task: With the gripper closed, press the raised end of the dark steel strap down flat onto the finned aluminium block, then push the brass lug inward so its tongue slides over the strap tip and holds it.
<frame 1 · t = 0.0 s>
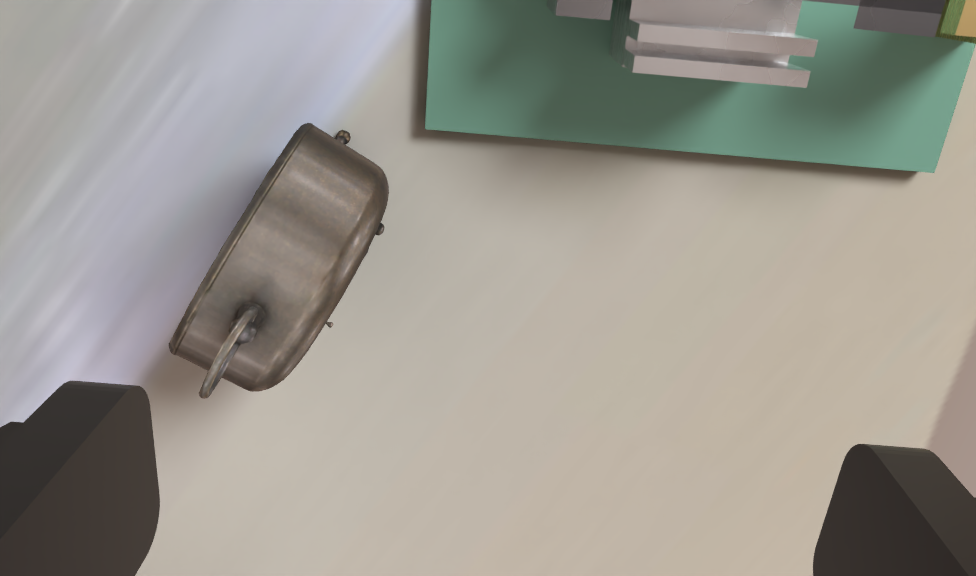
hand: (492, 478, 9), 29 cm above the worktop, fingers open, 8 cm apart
alarm clock: (322, 214, 39), on the worktop
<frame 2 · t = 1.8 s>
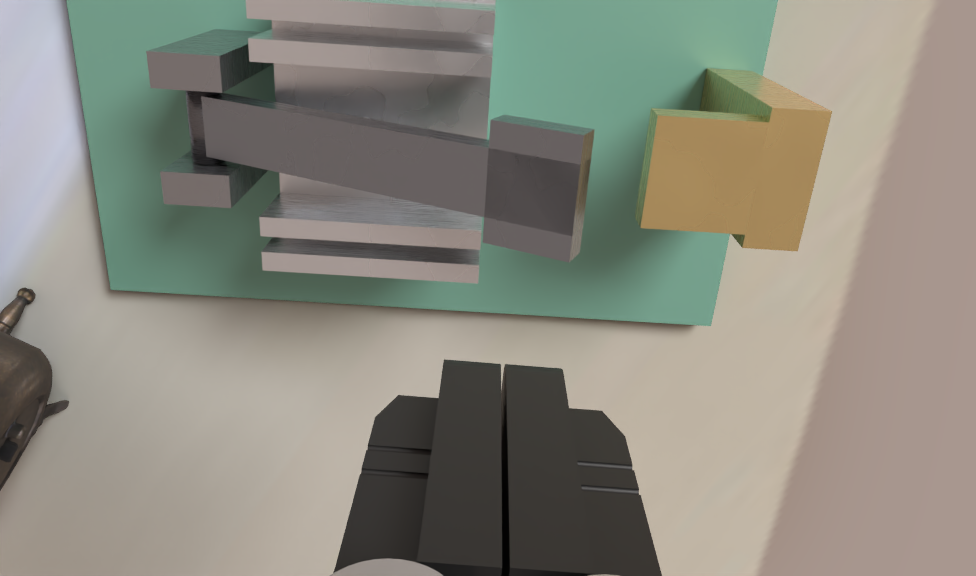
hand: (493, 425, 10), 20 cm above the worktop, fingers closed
heat sink: (338, 121, 24), on the pcb board, point 4 cm above the worktop
alarm clock: (24, 374, 34), on the worktop
pcb board: (420, 101, 28), on the worktop
strap: (366, 154, 21), point 8 cm above the worktop, hinge at 25.0°
lug: (700, 147, 24), point 5 cm above the worktop, slide at 0.0 cm
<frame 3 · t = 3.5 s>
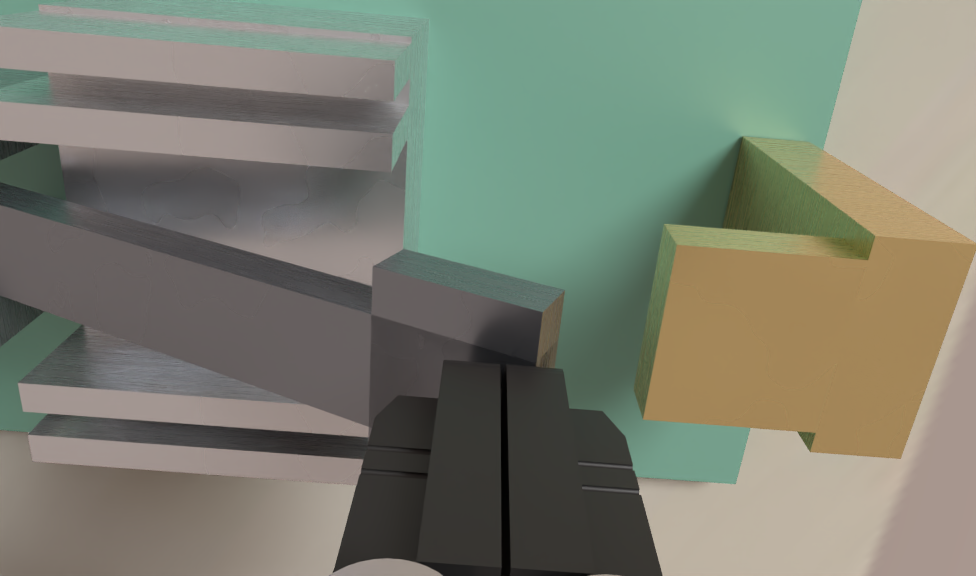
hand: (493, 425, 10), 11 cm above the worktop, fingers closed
heat sink: (175, 216, 16), on the pcb board, point 4 cm above the worktop
pcb board: (326, 171, 20), on the worktop
strap: (181, 295, 12), point 8 cm above the worktop, hinge at 24.4°, touching gripper
lug: (737, 267, 16), point 5 cm above the worktop, slide at 0.0 cm
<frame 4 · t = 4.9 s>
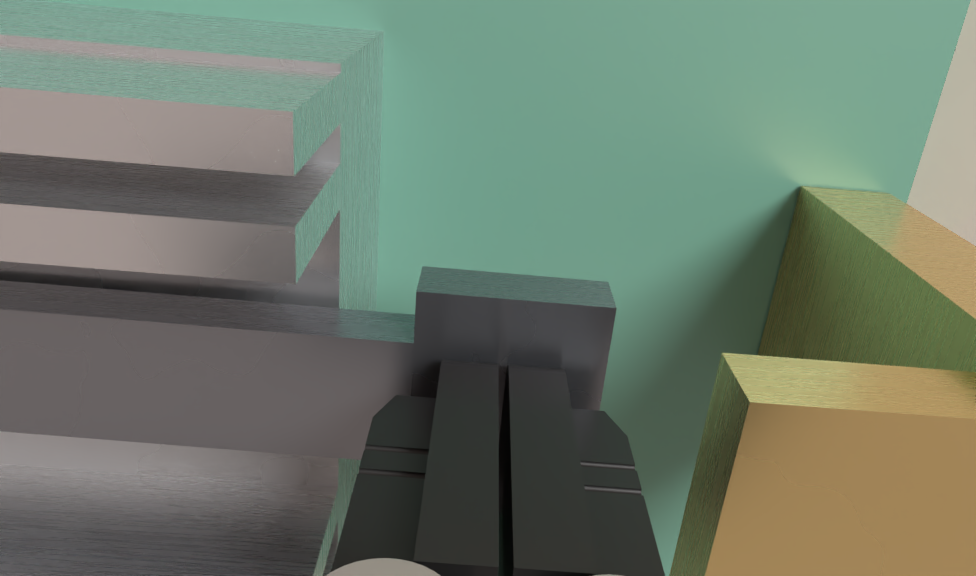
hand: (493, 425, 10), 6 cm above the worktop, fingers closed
heat sink: (24, 308, 11), on the pcb board, point 4 cm above the worktop
pcb board: (258, 226, 15), on the worktop
strap: (120, 365, 10), point 6 cm above the worktop, hinge at 0.7°, touching gripper
lug: (807, 379, 11), point 5 cm above the worktop, slide at 0.0 cm
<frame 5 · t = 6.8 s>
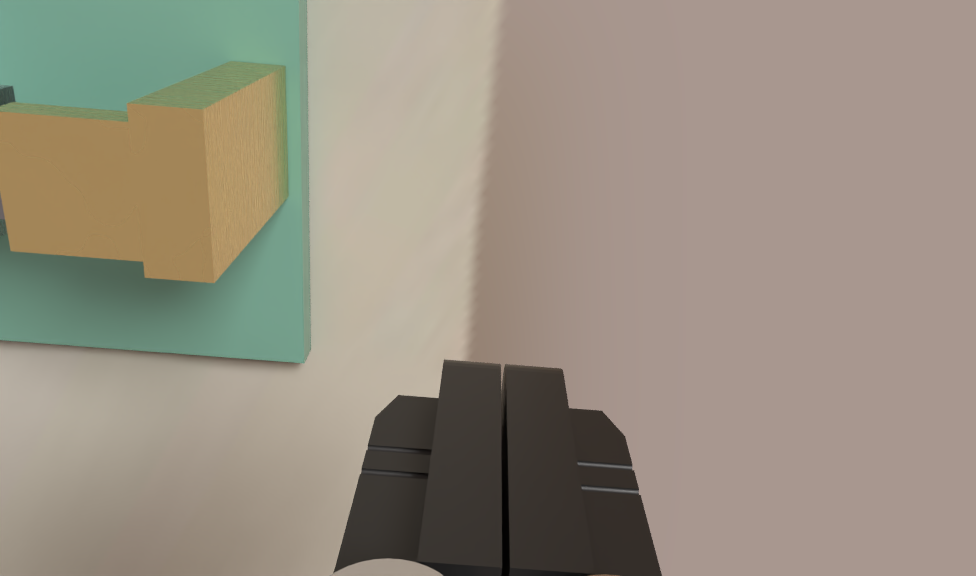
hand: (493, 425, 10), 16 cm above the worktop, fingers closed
lug: (166, 154, 20), point 5 cm above the worktop, slide at 0.0 cm
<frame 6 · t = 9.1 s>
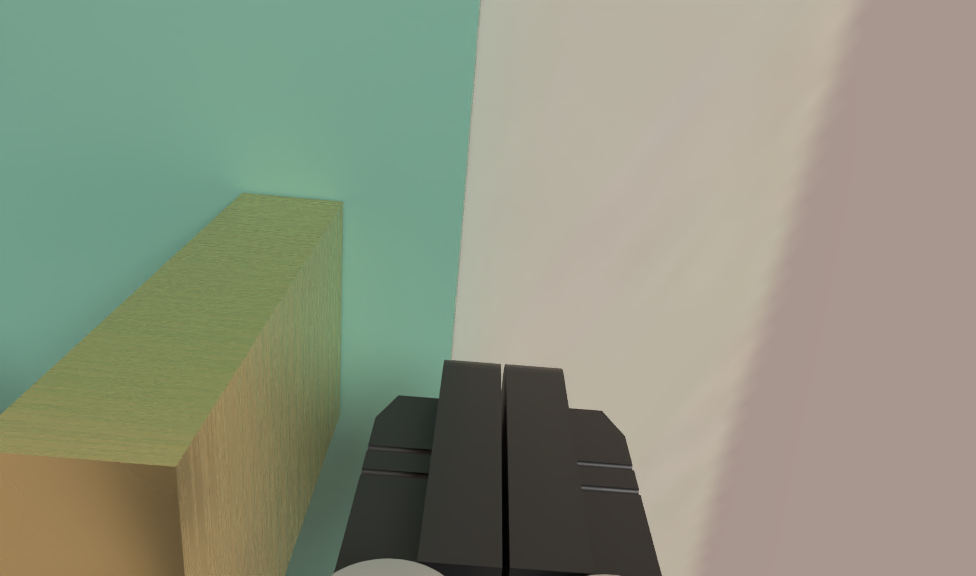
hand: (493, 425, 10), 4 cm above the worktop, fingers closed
lug: (109, 415, 10), point 5 cm above the worktop, slide at 1.5 cm, touching gripper
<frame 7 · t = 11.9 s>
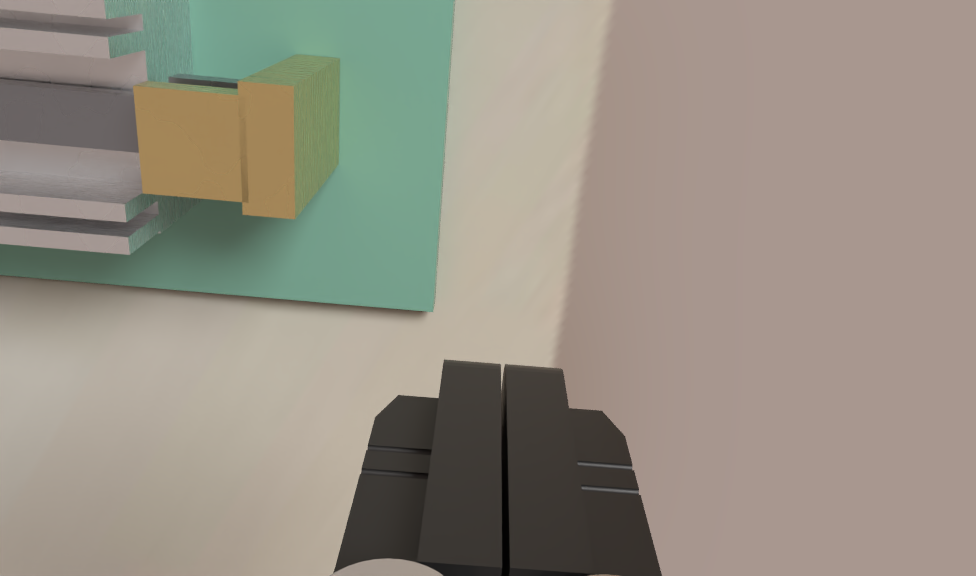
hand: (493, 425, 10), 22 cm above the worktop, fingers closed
heat sink: (19, 101, 26), on the pcb board, point 4 cm above the worktop
pcb board: (139, 89, 30), on the worktop
strap: (57, 114, 25), point 6 cm above the worktop, hinge at 0.7°
lug: (251, 125, 26), point 5 cm above the worktop, slide at 3.6 cm
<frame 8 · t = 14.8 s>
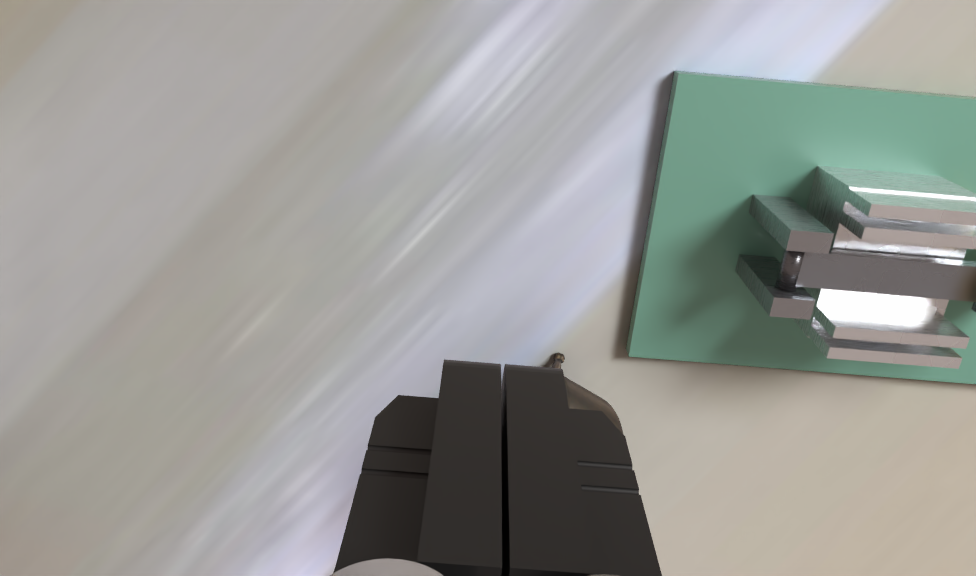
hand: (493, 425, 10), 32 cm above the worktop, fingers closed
heat sink: (855, 262, 39), on the pcb board, point 4 cm above the worktop
alarm clock: (532, 411, 48), on the worktop
pcb board: (863, 237, 43), on the worktop
strap: (908, 275, 37), point 6 cm above the worktop, hinge at 0.7°
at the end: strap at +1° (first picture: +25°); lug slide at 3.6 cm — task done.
